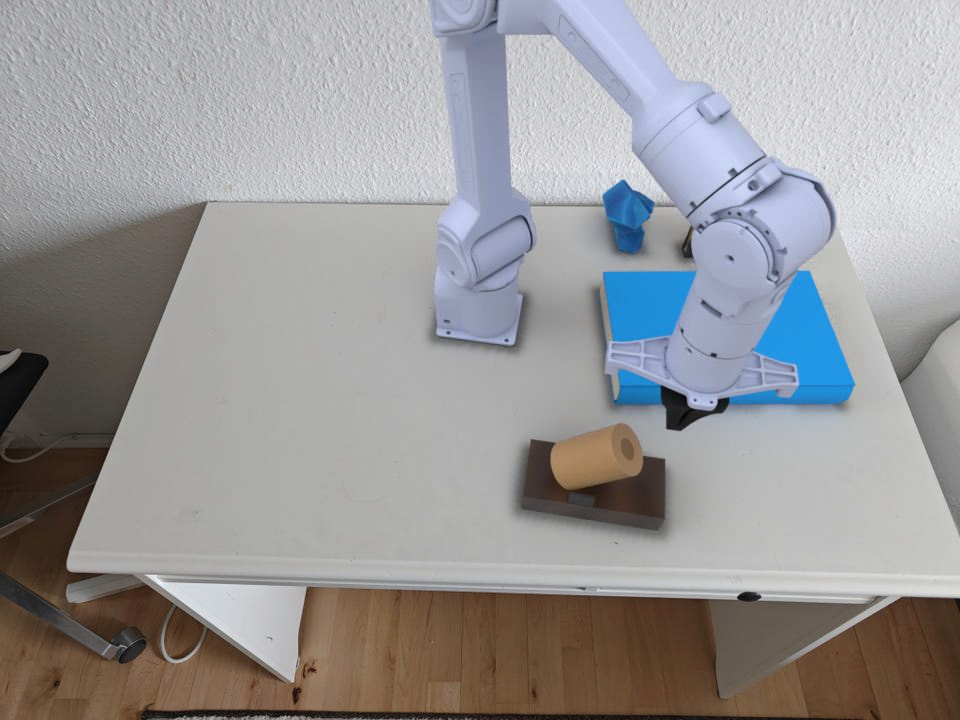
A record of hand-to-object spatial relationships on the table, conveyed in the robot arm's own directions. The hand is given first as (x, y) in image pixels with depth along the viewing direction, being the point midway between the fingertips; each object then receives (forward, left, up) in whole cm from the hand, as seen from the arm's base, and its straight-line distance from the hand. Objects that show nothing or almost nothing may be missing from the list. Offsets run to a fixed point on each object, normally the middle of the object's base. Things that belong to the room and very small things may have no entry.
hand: (673, 420), depth 57 cm
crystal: (-4, +34, -11) cm, 36 cm away
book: (+7, +17, -11) cm, 22 cm away
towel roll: (-5, -3, -5) cm, 8 cm away
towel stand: (-6, -3, -11) cm, 12 cm away
